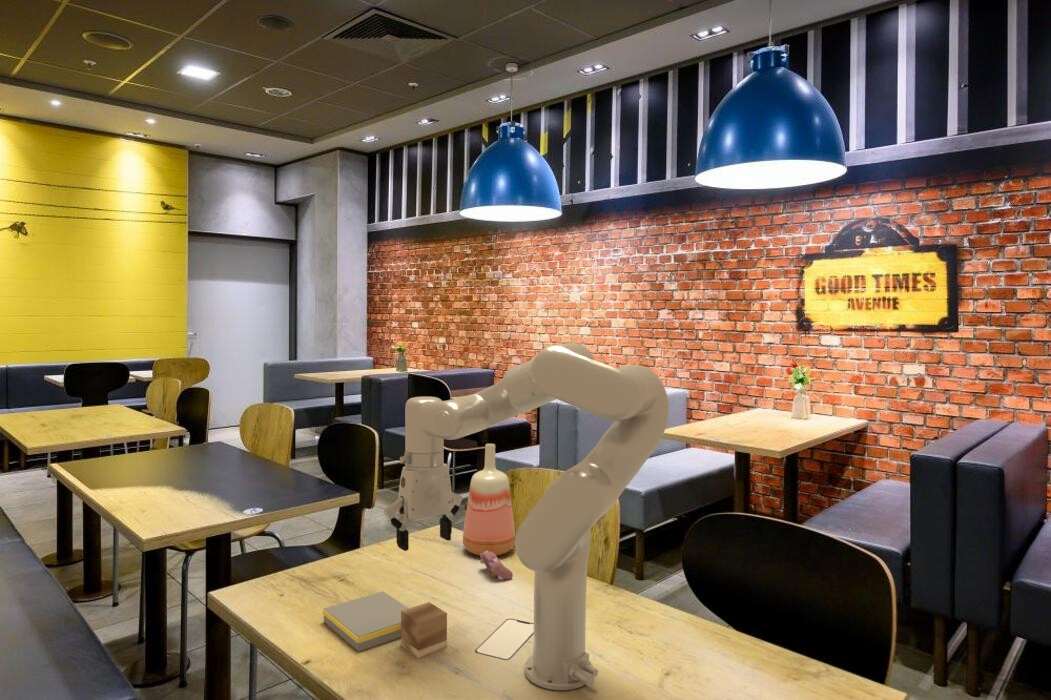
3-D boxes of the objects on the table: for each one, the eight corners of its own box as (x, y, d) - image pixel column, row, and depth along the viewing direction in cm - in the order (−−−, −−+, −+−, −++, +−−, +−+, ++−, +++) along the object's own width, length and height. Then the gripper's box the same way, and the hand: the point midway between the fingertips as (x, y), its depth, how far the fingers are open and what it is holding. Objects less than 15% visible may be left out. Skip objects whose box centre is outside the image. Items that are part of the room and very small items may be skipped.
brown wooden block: (446, 647, 134) (447, 613, 133) (418, 658, 130) (418, 622, 129) (429, 635, 139) (429, 602, 138) (400, 645, 135) (401, 610, 134)
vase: (482, 539, 197) (483, 437, 195) (524, 548, 190) (526, 443, 188) (452, 554, 185) (452, 446, 183) (496, 564, 177) (497, 452, 176)
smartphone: (508, 663, 129) (541, 627, 144) (508, 661, 129) (541, 625, 144) (472, 654, 132) (507, 619, 147) (472, 651, 132) (507, 617, 147)
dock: (421, 630, 141) (421, 616, 140) (358, 652, 131) (358, 637, 131) (383, 604, 153) (383, 591, 153) (322, 622, 144) (322, 608, 144)
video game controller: (485, 574, 175) (473, 552, 174) (499, 563, 177) (488, 542, 175) (500, 588, 166) (488, 565, 165) (515, 577, 168) (503, 554, 166)
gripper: (394, 468, 127) (394, 558, 128) (471, 456, 138) (471, 540, 139) (376, 461, 133) (376, 547, 134) (451, 450, 144) (451, 530, 145)
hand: (424, 543), depth 136 cm, fingers open, 9 cm apart
